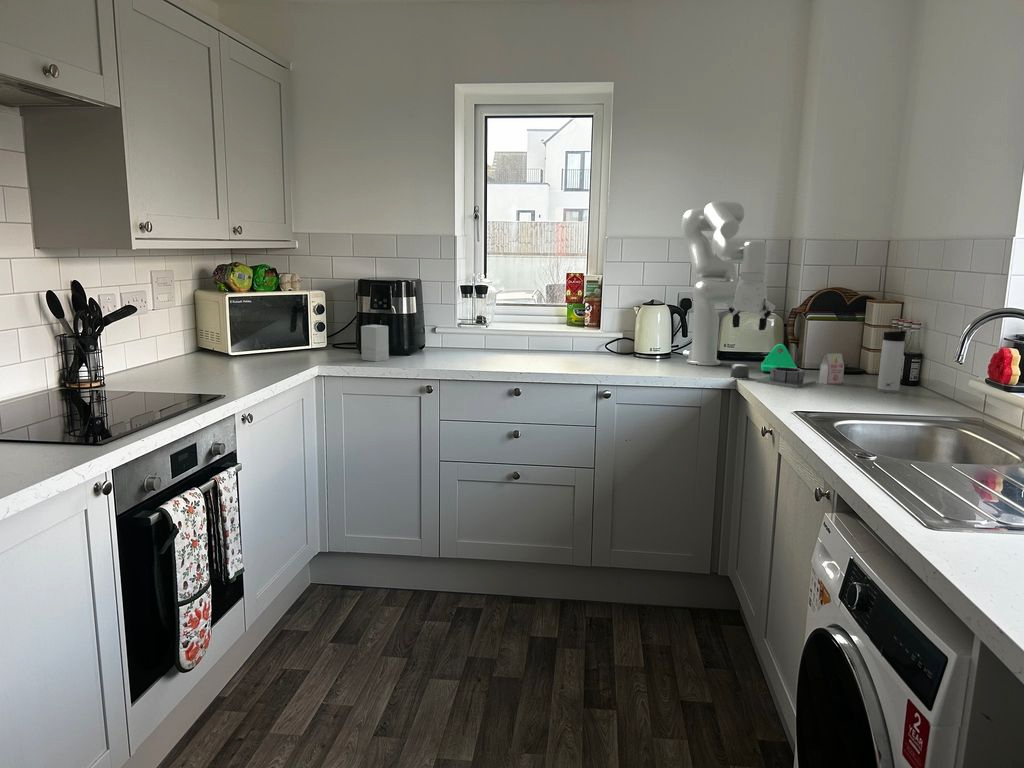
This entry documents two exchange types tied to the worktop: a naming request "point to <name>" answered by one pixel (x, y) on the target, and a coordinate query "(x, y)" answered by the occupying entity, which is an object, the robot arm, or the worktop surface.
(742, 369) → the dark grey rounded block
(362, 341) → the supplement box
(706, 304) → the robot arm
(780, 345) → the green triangle piece
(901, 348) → the travel mug
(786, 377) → the grey square base
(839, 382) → the milk carton
